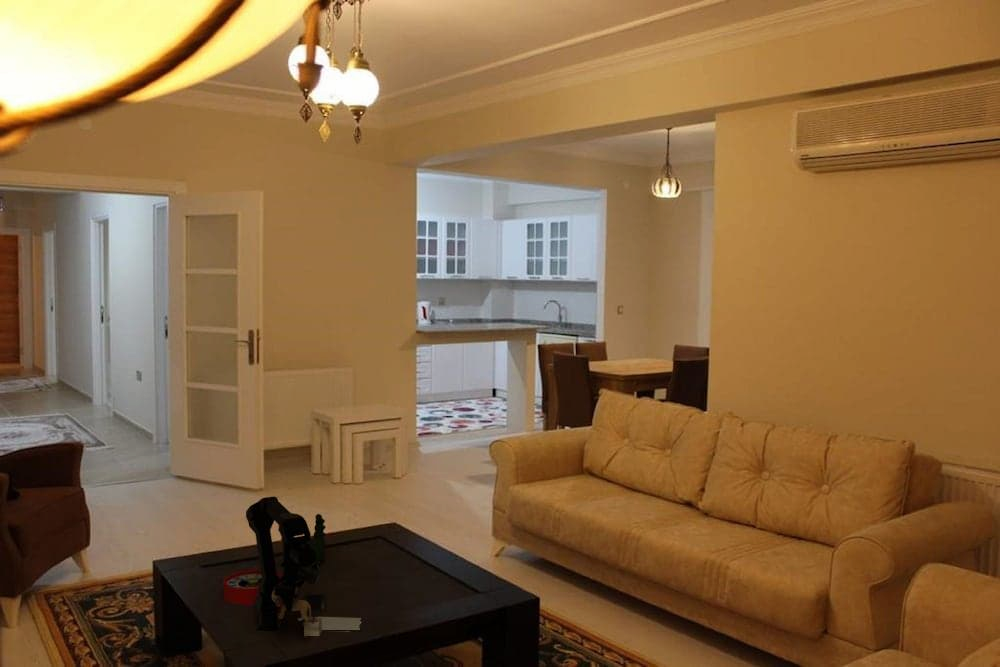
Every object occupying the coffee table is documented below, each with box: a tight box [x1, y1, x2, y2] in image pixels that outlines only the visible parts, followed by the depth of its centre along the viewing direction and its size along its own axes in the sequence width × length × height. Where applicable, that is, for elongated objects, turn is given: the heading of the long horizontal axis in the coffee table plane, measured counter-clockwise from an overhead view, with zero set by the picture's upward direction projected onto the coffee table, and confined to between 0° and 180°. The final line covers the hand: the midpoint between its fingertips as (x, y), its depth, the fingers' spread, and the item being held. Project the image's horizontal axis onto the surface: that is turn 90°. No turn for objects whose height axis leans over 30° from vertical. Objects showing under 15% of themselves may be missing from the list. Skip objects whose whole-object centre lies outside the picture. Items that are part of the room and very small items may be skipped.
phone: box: [302, 594, 328, 613], centre depth 296 cm, size 8×1×15 cm
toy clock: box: [222, 569, 282, 606], centre depth 303 cm, size 20×6×20 cm
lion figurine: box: [272, 588, 314, 626], centre depth 262 cm, size 15×5×9 cm, turn 95°
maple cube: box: [303, 616, 323, 637], centre depth 271 cm, size 4×4×5 cm
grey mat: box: [321, 616, 362, 630], centre depth 279 cm, size 10×16×1 cm, turn 90°
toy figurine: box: [306, 513, 327, 564], centre depth 338 cm, size 9×19×25 cm
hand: (291, 608), depth 262 cm, fingers closed on lion figurine, 4 cm apart
